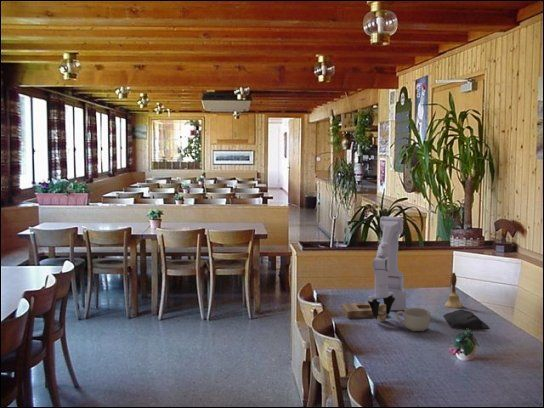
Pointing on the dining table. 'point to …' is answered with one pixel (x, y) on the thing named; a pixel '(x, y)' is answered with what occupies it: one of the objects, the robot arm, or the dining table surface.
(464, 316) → the dark slate chunk
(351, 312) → the board
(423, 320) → the teacup
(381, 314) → the peg
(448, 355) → the dining table surface
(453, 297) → the hand bell
